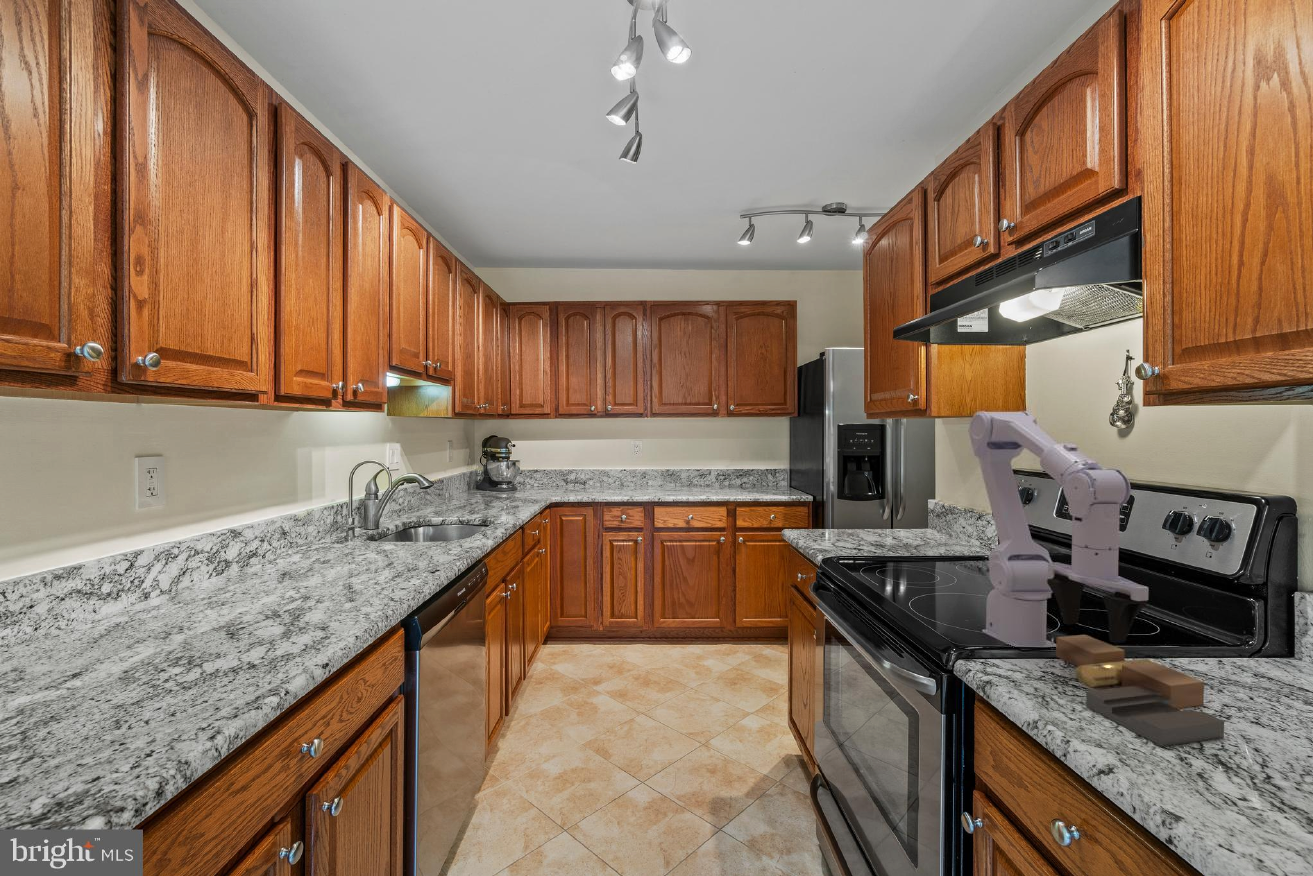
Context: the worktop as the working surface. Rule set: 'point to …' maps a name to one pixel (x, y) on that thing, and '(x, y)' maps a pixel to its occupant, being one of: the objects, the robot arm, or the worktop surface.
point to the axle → (1103, 673)
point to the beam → (1133, 670)
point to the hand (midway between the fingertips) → (1093, 632)
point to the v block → (1154, 716)
